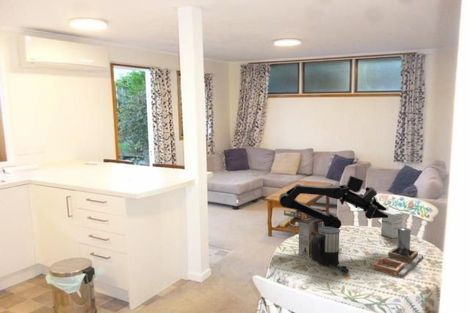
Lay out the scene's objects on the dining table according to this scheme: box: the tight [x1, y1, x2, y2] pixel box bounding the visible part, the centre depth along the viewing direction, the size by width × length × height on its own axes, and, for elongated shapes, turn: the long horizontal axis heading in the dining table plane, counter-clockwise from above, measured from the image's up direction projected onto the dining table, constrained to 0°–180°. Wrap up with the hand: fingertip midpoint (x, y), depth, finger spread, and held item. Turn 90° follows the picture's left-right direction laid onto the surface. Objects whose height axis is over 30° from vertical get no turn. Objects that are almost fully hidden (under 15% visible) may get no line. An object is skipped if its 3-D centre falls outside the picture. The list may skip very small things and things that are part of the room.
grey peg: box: [396, 226, 412, 257], centre depth 163 cm, size 5×5×12 cm
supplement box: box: [380, 209, 404, 239], centre depth 191 cm, size 7×7×13 cm
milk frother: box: [311, 226, 350, 273], centre depth 153 cm, size 14×16×15 cm
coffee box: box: [298, 216, 323, 259], centre depth 167 cm, size 9×6×16 cm
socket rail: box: [372, 246, 424, 278], centre depth 157 cm, size 27×12×2 cm, turn 137°
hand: (387, 213), depth 174 cm, fingers open, 9 cm apart
